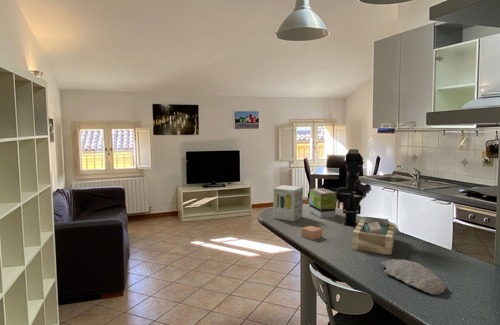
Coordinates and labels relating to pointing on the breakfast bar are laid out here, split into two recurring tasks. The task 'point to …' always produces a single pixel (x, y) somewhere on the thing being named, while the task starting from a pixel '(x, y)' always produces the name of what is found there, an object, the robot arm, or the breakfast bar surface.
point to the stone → (414, 275)
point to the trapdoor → (382, 222)
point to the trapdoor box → (373, 239)
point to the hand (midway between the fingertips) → (351, 210)
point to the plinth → (311, 232)
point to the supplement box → (287, 202)
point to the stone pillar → (374, 228)
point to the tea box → (322, 202)
